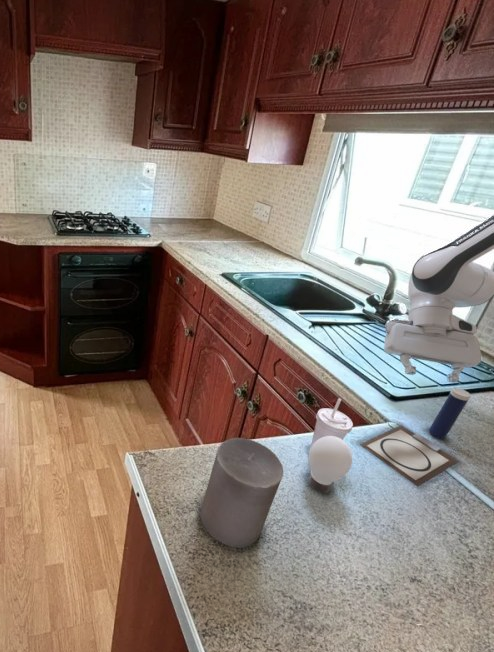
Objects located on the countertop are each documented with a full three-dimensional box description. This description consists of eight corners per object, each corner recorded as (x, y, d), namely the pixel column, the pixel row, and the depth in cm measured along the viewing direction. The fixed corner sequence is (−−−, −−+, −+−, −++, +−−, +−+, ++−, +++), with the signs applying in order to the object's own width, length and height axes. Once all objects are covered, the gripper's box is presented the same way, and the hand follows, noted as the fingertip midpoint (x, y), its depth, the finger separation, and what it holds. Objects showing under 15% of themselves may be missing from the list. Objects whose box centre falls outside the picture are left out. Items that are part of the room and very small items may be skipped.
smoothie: (304, 439, 86) (326, 386, 79) (337, 453, 83) (362, 398, 77) (300, 458, 81) (322, 402, 74) (334, 473, 78) (361, 416, 72)
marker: (447, 438, 91) (474, 394, 85) (439, 442, 89) (466, 398, 84) (431, 429, 93) (456, 386, 88) (424, 432, 92) (449, 389, 86)
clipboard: (457, 463, 84) (460, 459, 84) (416, 488, 77) (419, 484, 76) (400, 426, 93) (401, 423, 93) (358, 445, 86) (360, 441, 85)
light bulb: (344, 501, 72) (367, 455, 67) (308, 500, 71) (329, 453, 67) (325, 471, 78) (345, 427, 73) (292, 470, 77) (310, 426, 73)
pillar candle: (238, 492, 71) (260, 427, 65) (272, 543, 63) (301, 473, 56) (189, 502, 68) (206, 435, 62) (218, 557, 60) (241, 485, 53)
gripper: (393, 312, 99) (392, 366, 95) (484, 327, 97) (488, 383, 92) (379, 321, 105) (378, 372, 101) (464, 335, 102) (467, 388, 98)
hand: (431, 377), depth 97 cm, fingers open, 8 cm apart
